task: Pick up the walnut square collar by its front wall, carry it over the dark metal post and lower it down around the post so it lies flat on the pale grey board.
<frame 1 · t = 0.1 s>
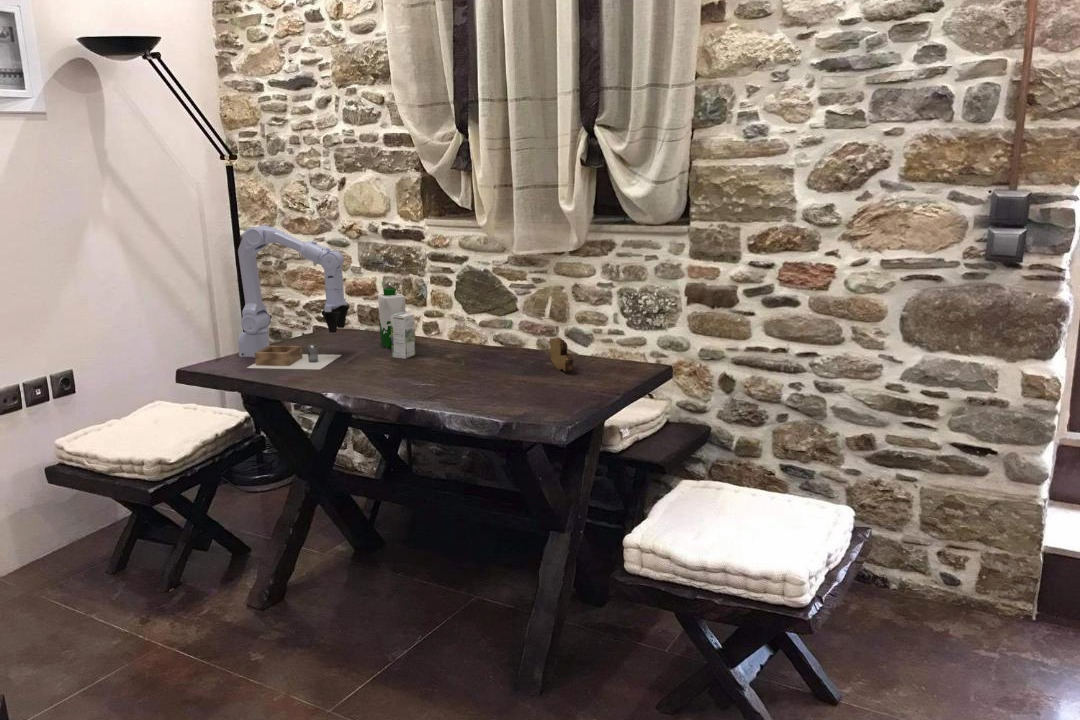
hand: (337, 330, 287), 10 cm above the table, tool pointing down, fingers open, 7 cm apart
post board: (295, 364, 283), on the table
wooden carving: (561, 369, 274), on the table
square collar: (279, 361, 283), point 1 cm above the table, touching post board
syrup box: (404, 357, 293), on the table
milk carton: (394, 346, 310), on the table
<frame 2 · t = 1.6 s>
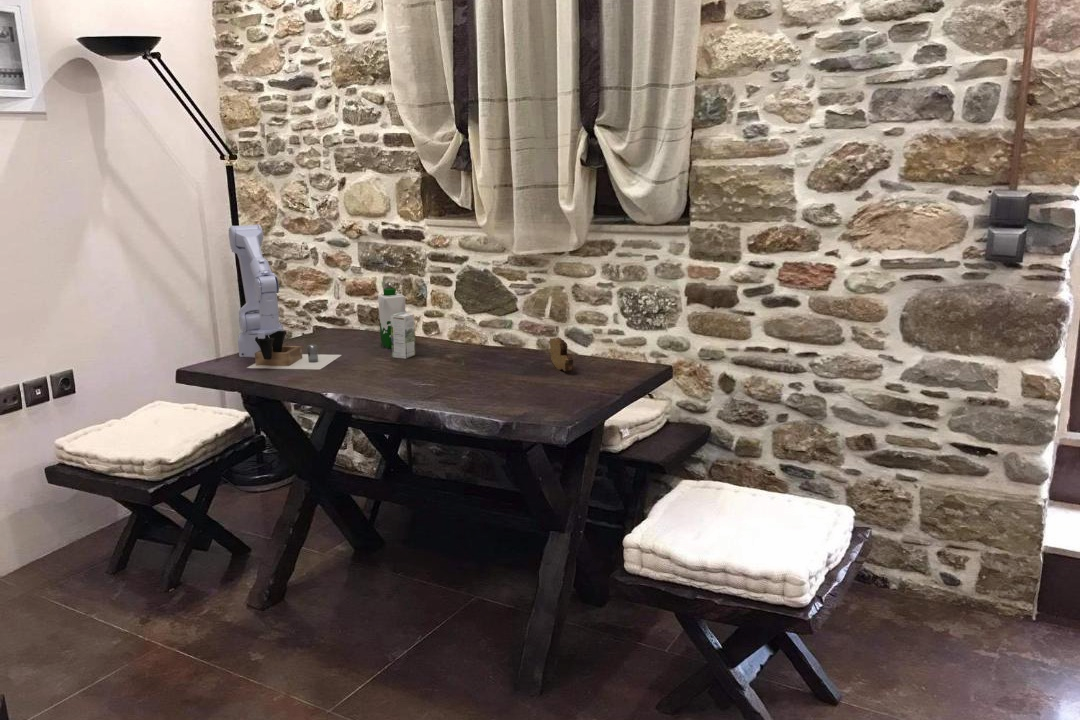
hand: (272, 356, 278), 4 cm above the table, tool pointing down, fingers open, 7 cm apart
nothing on the table moved.
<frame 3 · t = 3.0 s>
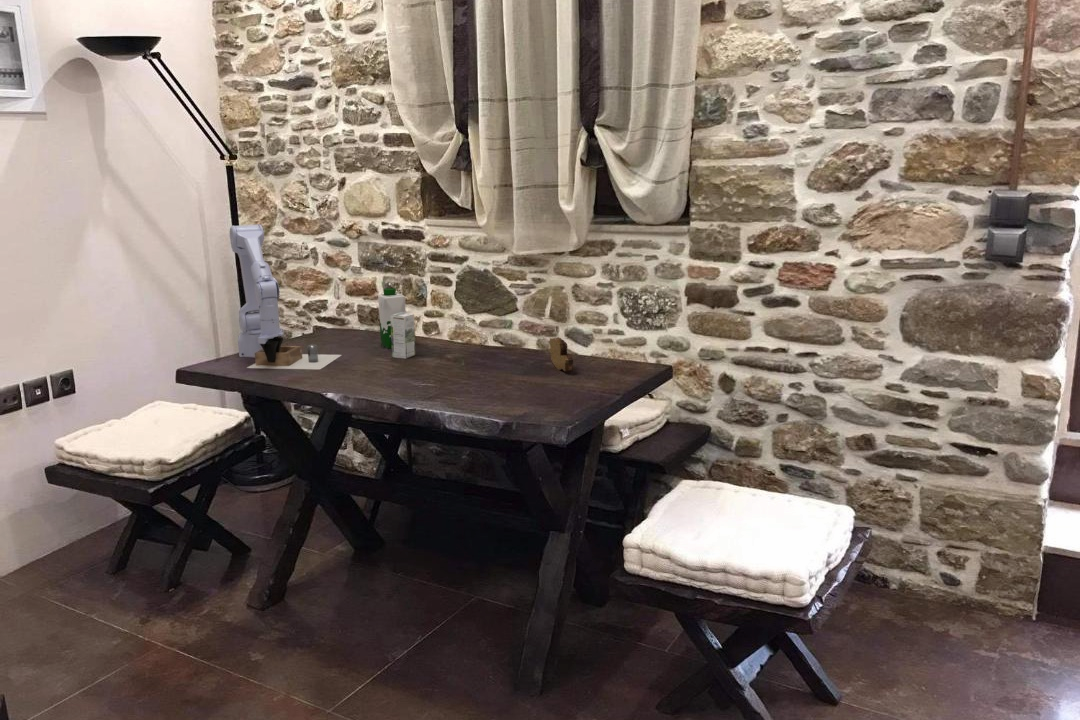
hand: (273, 361, 278), 2 cm above the table, tool pointing down, fingers closed on square collar
square collar: (279, 361, 283), point 1 cm above the table, touching gripper, post board
everything else where it was.
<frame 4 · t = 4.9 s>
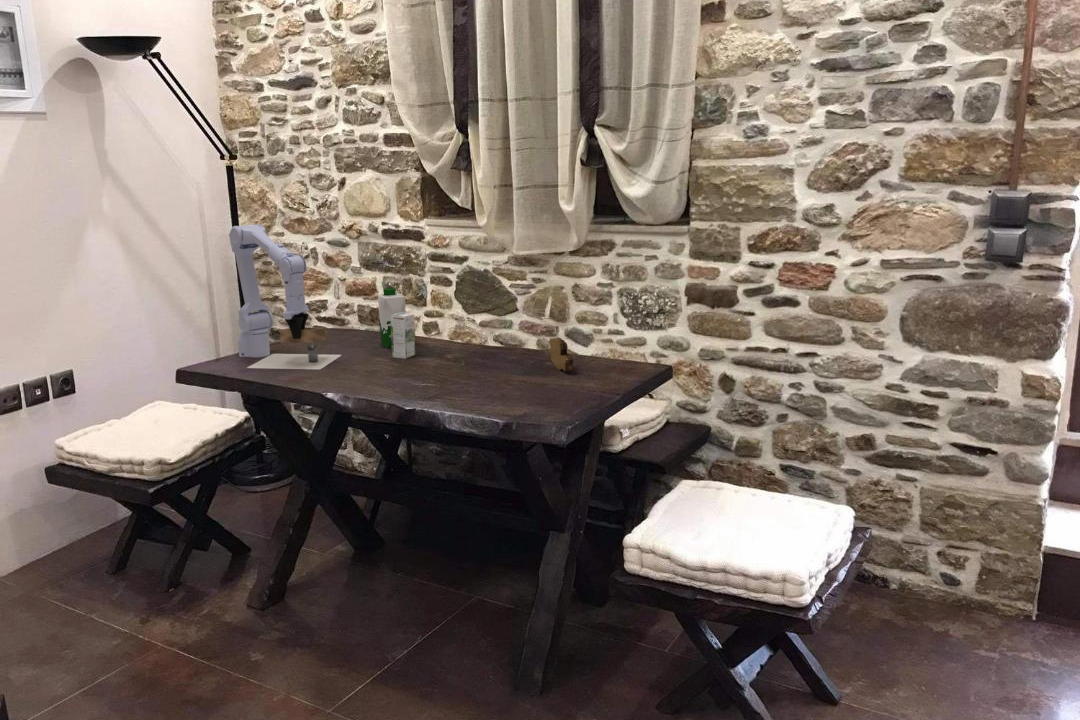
hand: (298, 337, 276), 10 cm above the table, tool pointing down, fingers closed on square collar
square collar: (304, 341, 281), point 8 cm above the table, tilted 7°, touching gripper
everything else where it was.
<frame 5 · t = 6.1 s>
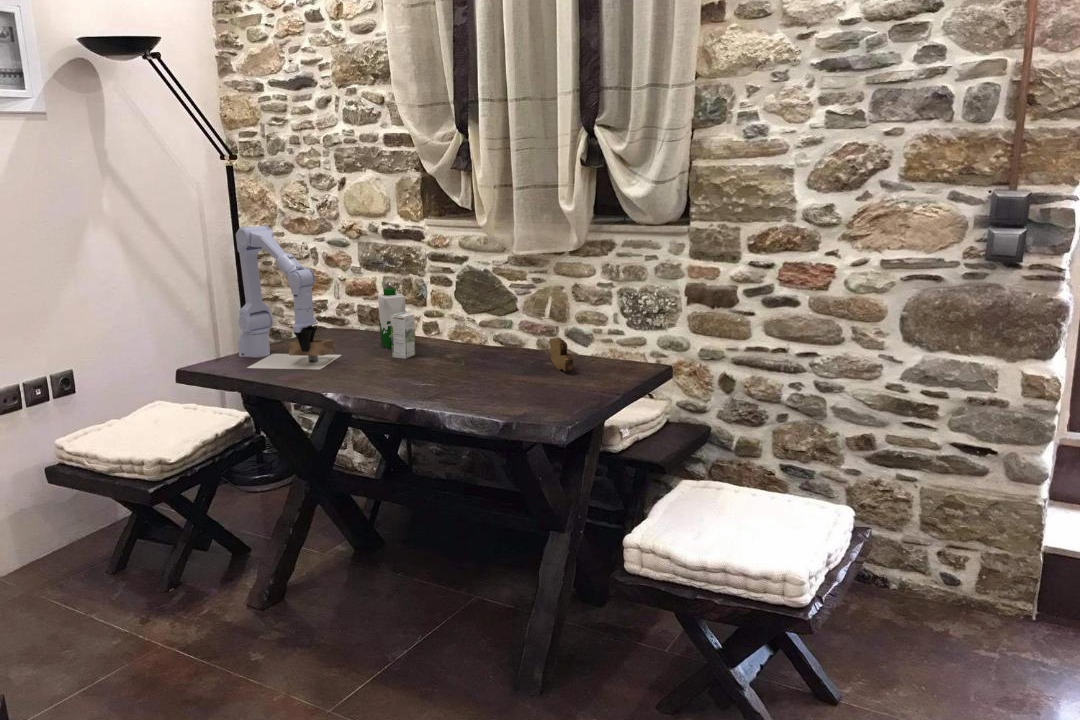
hand: (306, 350, 277), 6 cm above the table, tool pointing down, fingers closed on square collar
square collar: (312, 353, 282), point 4 cm above the table, tilted 7°, touching gripper
everything else where it was.
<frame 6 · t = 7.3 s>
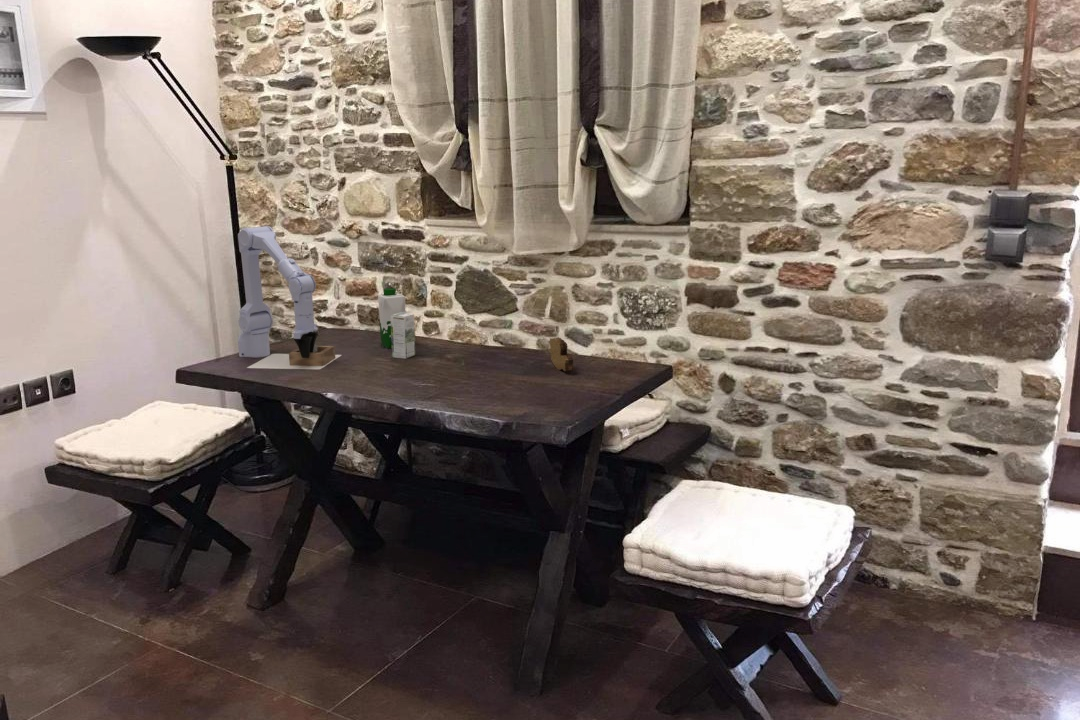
hand: (307, 356, 277), 4 cm above the table, tool pointing down, fingers closed
square collar: (312, 361, 282), point 1 cm above the table, touching post board
everything else where it was.
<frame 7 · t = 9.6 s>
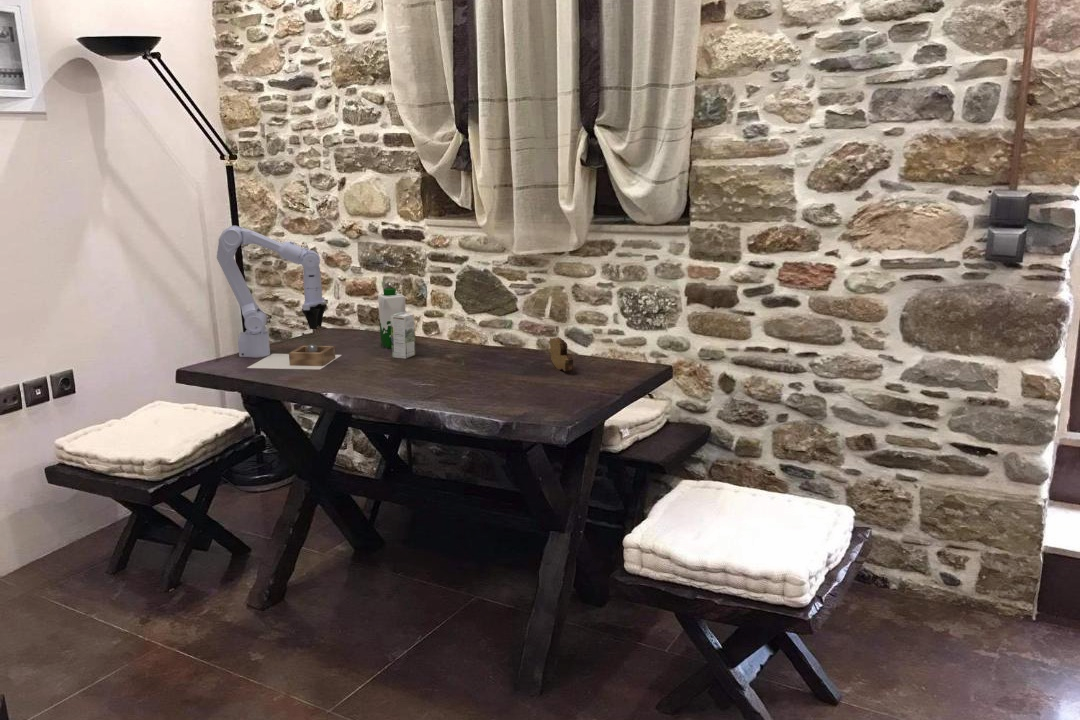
hand: (315, 327, 295), 9 cm above the table, tool pointing down, fingers open, 4 cm apart
nothing on the table moved.
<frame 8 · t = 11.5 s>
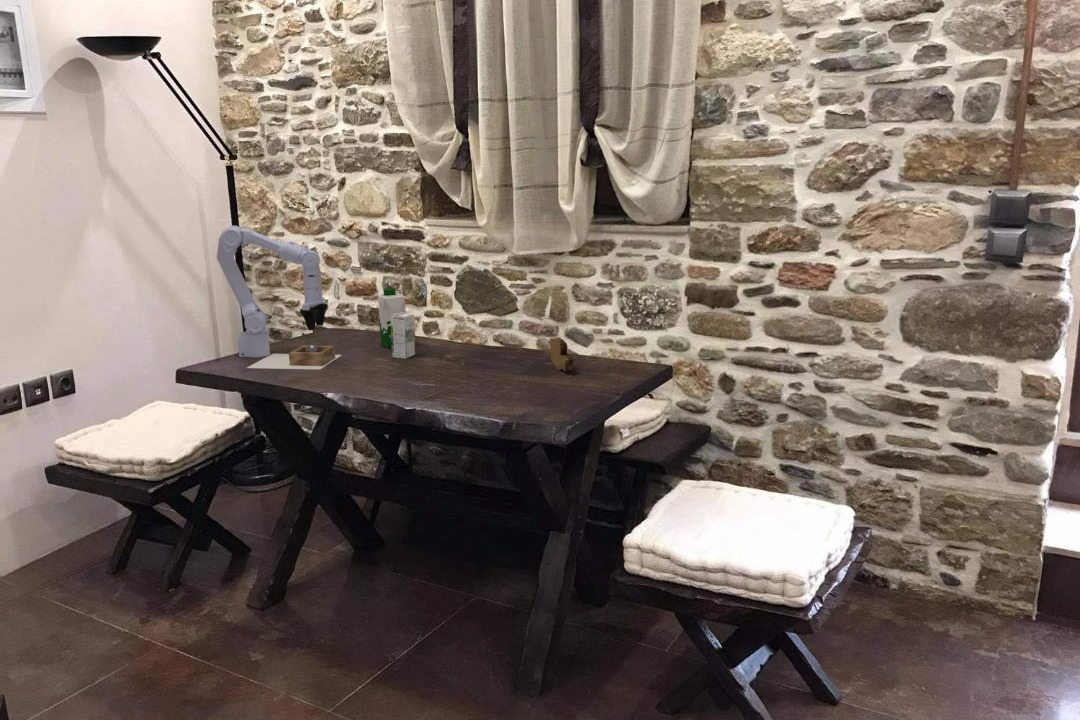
hand: (315, 327, 295), 9 cm above the table, tool pointing down, fingers open, 7 cm apart
nothing on the table moved.
at the end: square collar 0.3 cm from the target spot on the post board, point 1.2 cm above the post board's base; the gripper is holding nothing; square collar tilted 0° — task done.
